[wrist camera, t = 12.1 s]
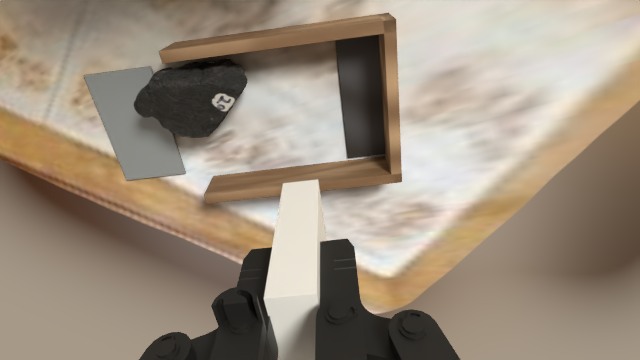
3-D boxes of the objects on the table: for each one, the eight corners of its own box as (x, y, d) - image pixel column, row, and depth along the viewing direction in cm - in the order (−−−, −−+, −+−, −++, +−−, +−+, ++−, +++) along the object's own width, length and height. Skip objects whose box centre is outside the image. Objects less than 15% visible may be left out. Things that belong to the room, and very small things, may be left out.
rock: (113, 58, 41) (174, 107, 37) (200, 32, 47) (259, 71, 44) (126, 119, 46) (180, 166, 43) (202, 88, 53) (255, 126, 49)
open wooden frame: (174, 42, 45) (158, 51, 41) (388, 12, 44) (395, 19, 39) (215, 183, 54) (206, 203, 50) (395, 163, 52) (401, 182, 48)
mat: (84, 75, 47) (83, 75, 47) (150, 66, 46) (149, 66, 46) (127, 179, 54) (126, 180, 53) (185, 172, 53) (185, 173, 53)
